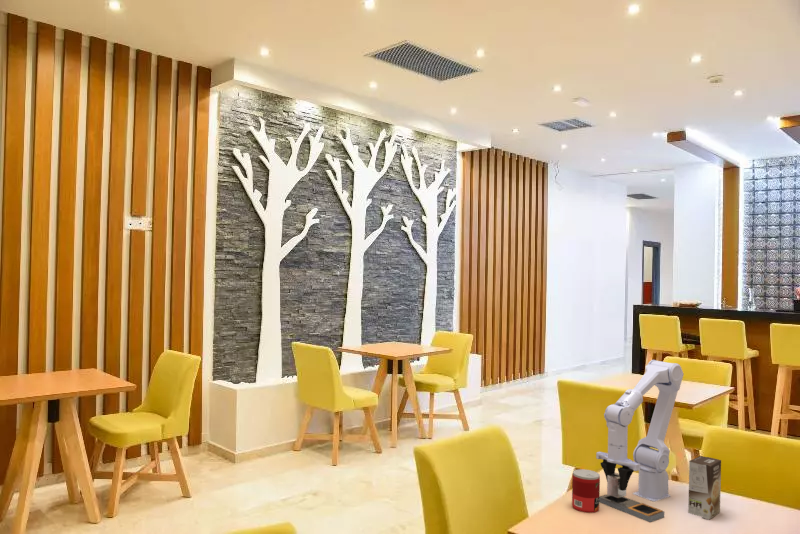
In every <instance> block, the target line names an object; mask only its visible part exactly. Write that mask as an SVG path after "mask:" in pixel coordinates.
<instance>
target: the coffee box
mask: <svg viewBox="0 0 800 534" xmlns="http://www.w3.org/2000/svg"><path fill="white" fill-rule="evenodd" d="M688 463H689V465H688V466H689V467H688V469H689V470H688V506H687V507H688V509H687V513H688V514H691V515H694V516H697V517H701V518H702V519H706V520H711V519H712V518H714V517H715V516H717V515H718V514H720V512H721V486H722V485H721V481H722V479H721V478H722V460H721V459H718V458H713V457H708V456H703V455H700V456H697V457H695V458H693V459H690V460H689V461H688Z"/></svg>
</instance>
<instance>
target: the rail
mask: <svg viewBox="0 0 800 534" xmlns="http://www.w3.org/2000/svg"><path fill="white" fill-rule="evenodd" d="M599 504H603V505H605V506H607V507H610V508H613V509H616V510H617V511H620V512H623V513H625V514H628V515H631V516H633V517H635V518H638V519H641V520H643V521H645V522H648V523H652V522H654V521H658V520H660V519H663V518H665V510H664V511H663V509H659V508H657V507H654V506H651V505H649V504H646V503H643V502H639V501H636V500H633V499H631V498H629V497H626V496H623V497H620V498H616V497H614V496H611V495H608V494H607V493H606V494H604V495H599Z"/></svg>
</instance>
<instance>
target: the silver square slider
mask: <svg viewBox="0 0 800 534" xmlns="http://www.w3.org/2000/svg"><path fill="white" fill-rule="evenodd" d="M606 482H607V483H606V484H607V485H606V487H607V489H606V490H607V491H606V492H607V493H606V495H607V494H608V495H611V496H614V497H616V498H620V497H626V496H627V489H626V490H623V491H622V490H620V476H619V472H615V473H612V474H609V475H607V479H606Z"/></svg>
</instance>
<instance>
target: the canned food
mask: <svg viewBox="0 0 800 534" xmlns="http://www.w3.org/2000/svg"><path fill="white" fill-rule="evenodd" d="M600 478H601V476H600V474H599V472H596V471H594V470H590V469H583V468H582V469H581V468H579V469H575V470H574V469H573V470H572V482H571V483H572V489H571V490H572V491H571V505H572V508H573V509H574V510H576V511H578V512H581V513H588V514H592V513H596V512H598V511H599V510H600V502H599V497H600V492H601V491H600V490H601V489H600V487H601V486H600V485H601V481H600V480H601V479H600Z"/></svg>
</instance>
